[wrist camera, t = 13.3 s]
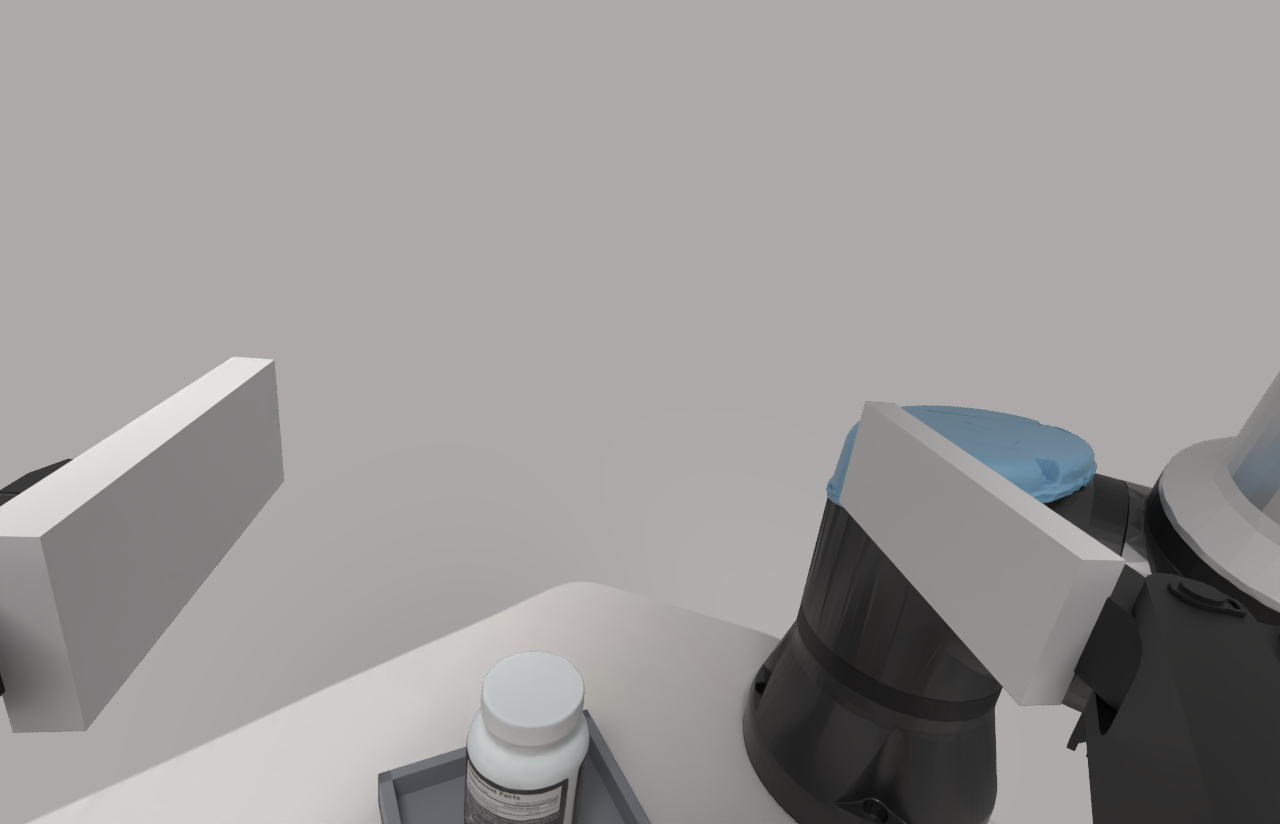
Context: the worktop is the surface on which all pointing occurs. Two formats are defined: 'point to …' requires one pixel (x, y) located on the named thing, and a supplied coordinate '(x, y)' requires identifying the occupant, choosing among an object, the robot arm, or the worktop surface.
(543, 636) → the worktop surface
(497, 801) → the pill bottle
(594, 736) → the tray
